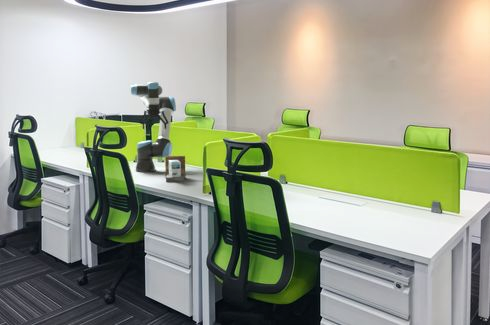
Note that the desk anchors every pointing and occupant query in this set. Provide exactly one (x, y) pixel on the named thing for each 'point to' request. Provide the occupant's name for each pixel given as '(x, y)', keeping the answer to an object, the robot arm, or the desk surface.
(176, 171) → the light bulb box
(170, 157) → the brown box
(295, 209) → the desk surface
